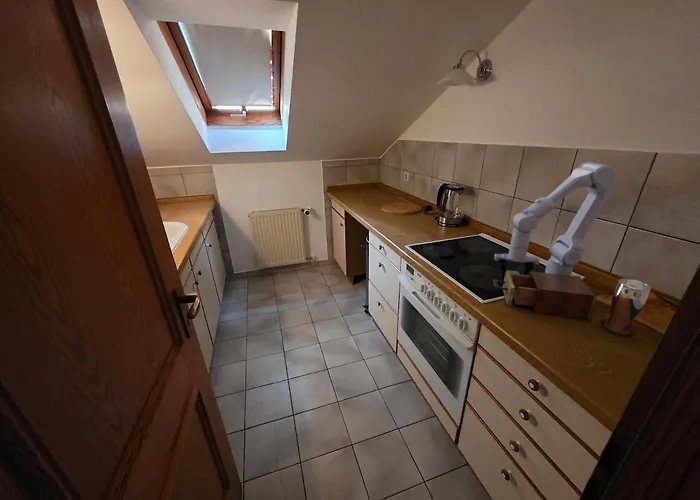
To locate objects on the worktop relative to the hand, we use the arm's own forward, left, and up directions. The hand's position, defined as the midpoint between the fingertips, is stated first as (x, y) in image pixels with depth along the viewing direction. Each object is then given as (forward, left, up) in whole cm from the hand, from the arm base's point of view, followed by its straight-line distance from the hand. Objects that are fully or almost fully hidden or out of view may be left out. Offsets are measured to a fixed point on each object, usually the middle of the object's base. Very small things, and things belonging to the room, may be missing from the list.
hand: (512, 278), depth 114 cm
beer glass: (+22, +25, -2) cm, 33 cm away
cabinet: (+13, +11, -2) cm, 17 cm away
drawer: (+13, +1, -1) cm, 13 cm away
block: (0, 0, -2) cm, 2 cm away
